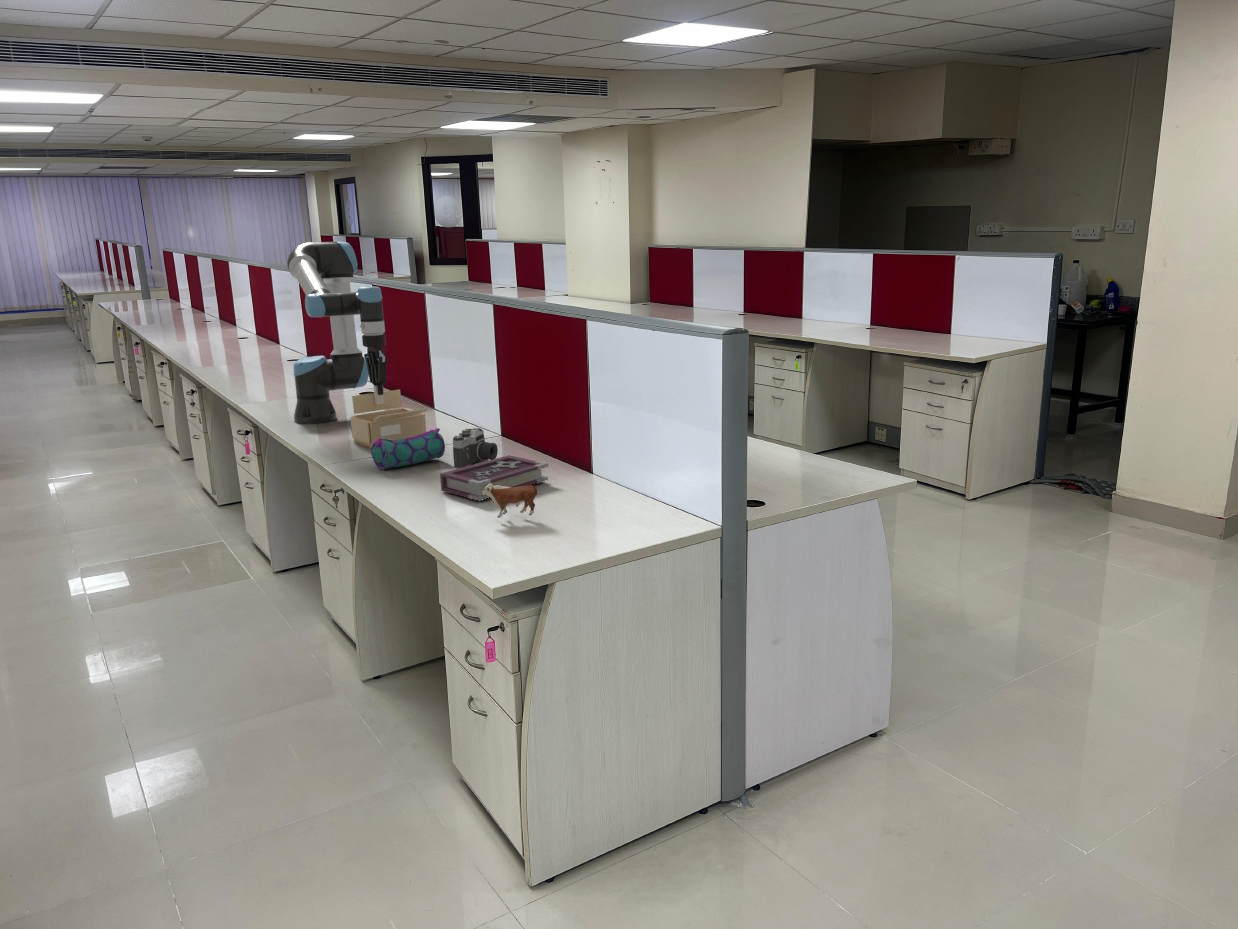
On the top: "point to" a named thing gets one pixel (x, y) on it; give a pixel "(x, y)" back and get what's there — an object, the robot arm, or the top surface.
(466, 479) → the book
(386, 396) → the flap
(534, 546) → the top surface
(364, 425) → the carton
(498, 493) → the bull figurine
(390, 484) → the top surface
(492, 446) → the camera
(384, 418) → the flap
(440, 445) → the pencil case
